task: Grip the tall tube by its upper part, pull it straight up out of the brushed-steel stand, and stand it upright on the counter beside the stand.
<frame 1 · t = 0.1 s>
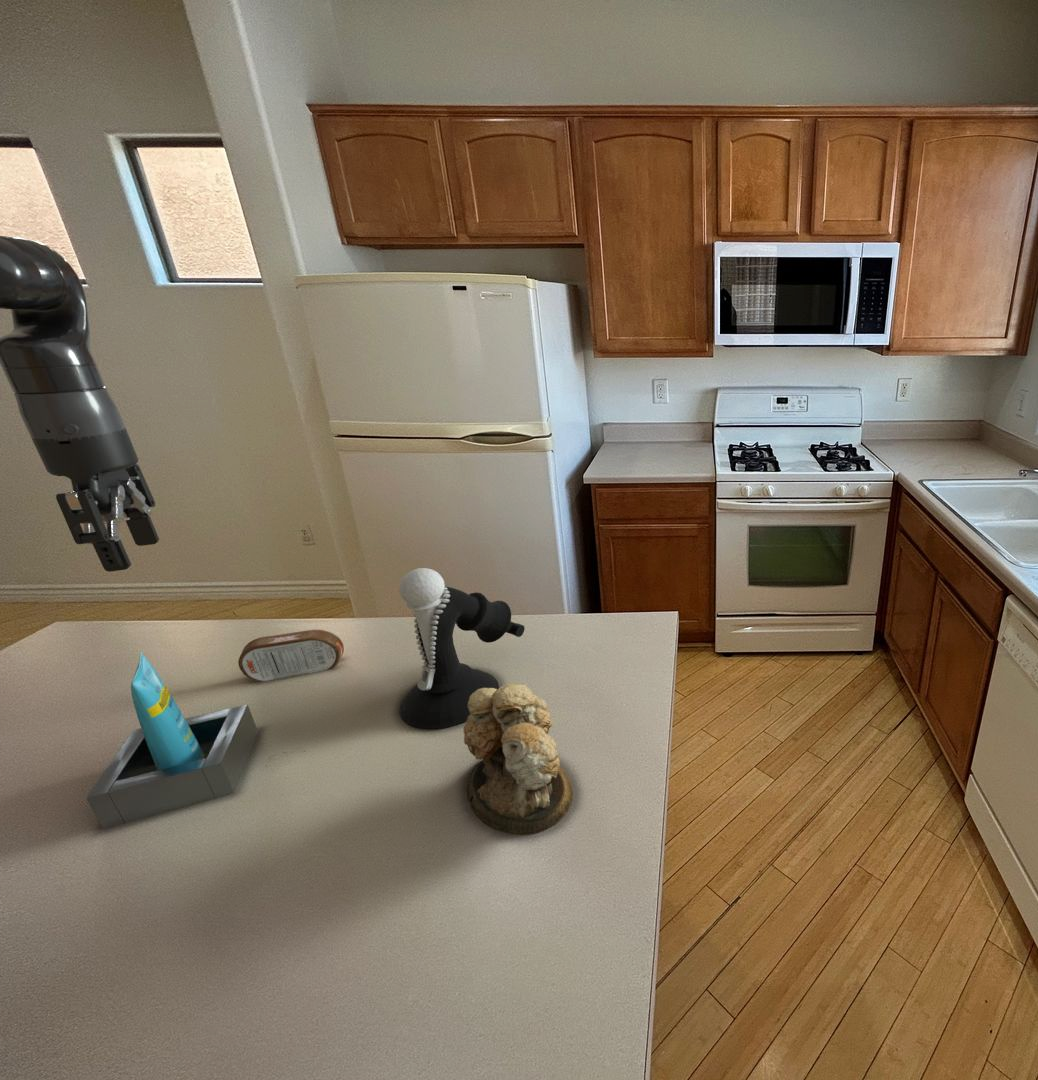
hand: (134, 556, 70), 32 cm above the counter, tool pointing down, fingers open, 8 cm apart
stand: (191, 779, 77), on the counter
tube: (191, 780, 77), resting in stand
sculpture: (473, 688, 97), on the counter
tin: (299, 676, 99), on the counter
owl figurine: (518, 793, 76), on the counter
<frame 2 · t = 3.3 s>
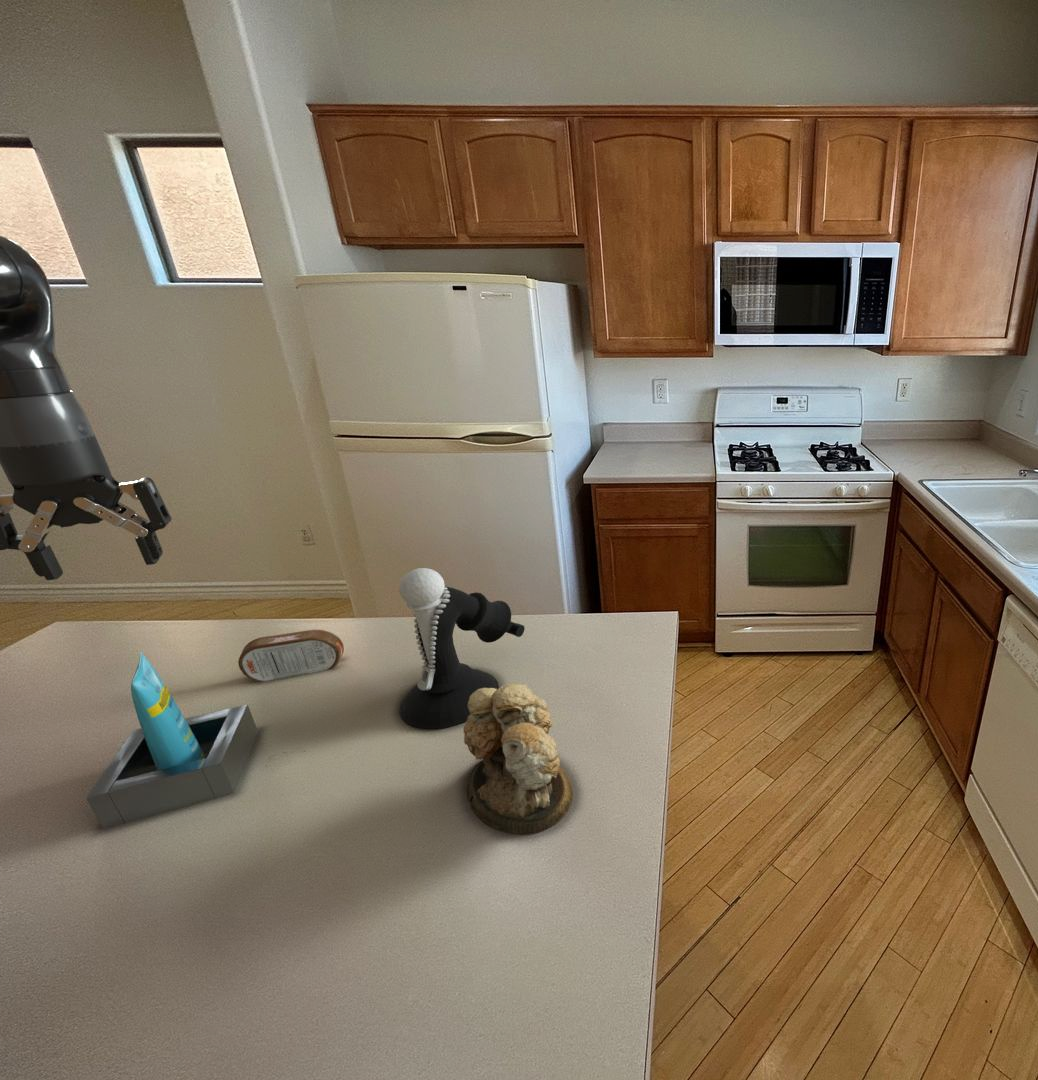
hand: (105, 569, 66), 32 cm above the counter, tool pointing down, fingers open, 8 cm apart
nothing on the counter moved.
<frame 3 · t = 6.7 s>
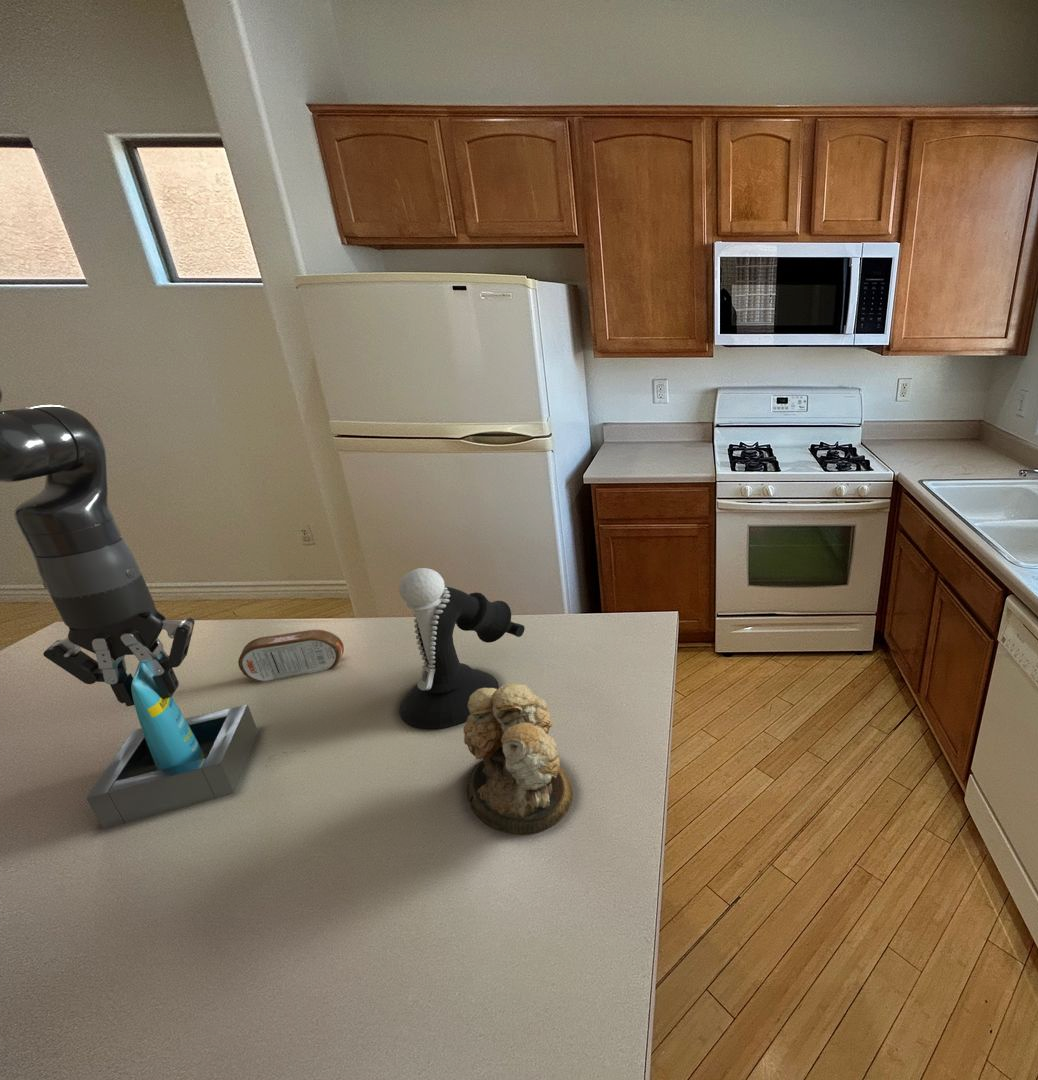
hand: (151, 697, 72), 14 cm above the counter, tool pointing down, fingers closed on tube, 3 cm apart
tube: (191, 780, 77), resting in stand, touching gripper
everything else where it was.
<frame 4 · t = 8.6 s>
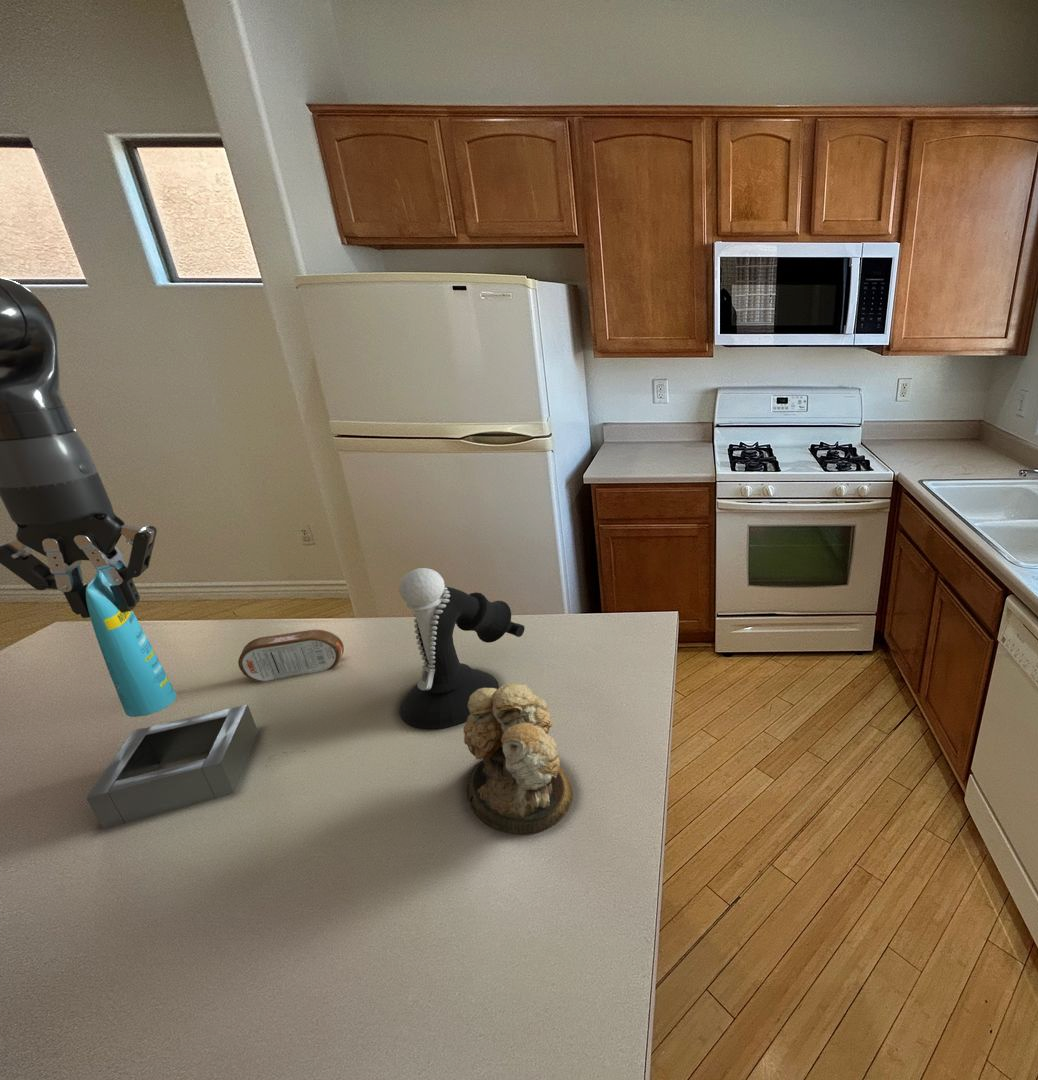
hand: (110, 611, 67), 27 cm above the counter, tool pointing down, fingers closed on tube, 3 cm apart
tube: (154, 706, 73), point 13 cm above the counter, touching gripper
everything else where it was.
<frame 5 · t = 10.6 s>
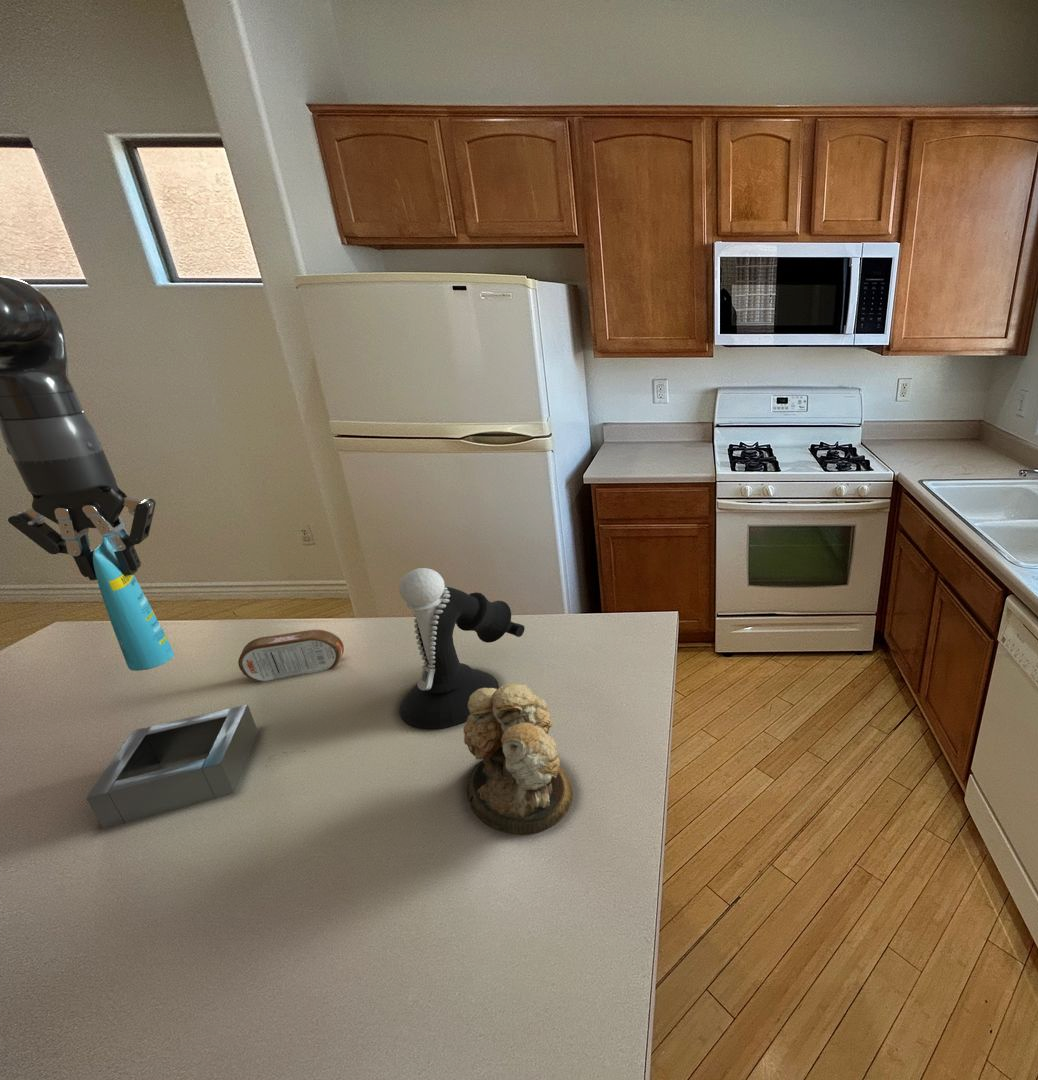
hand: (114, 575, 75), 27 cm above the counter, tool pointing down, fingers closed on tube, 3 cm apart
tube: (154, 662, 81), point 13 cm above the counter, touching gripper
everything else where it was.
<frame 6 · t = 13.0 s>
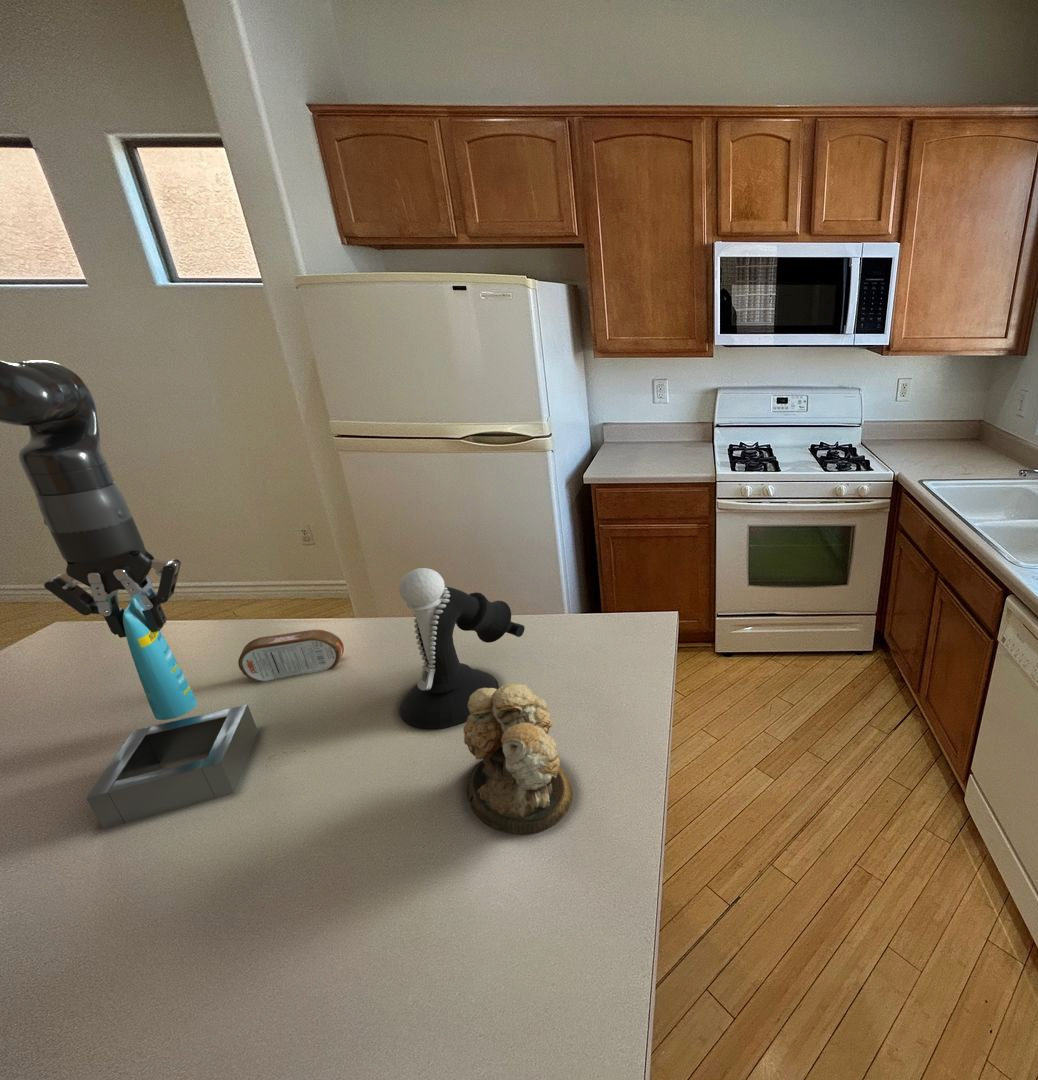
hand: (142, 631, 79), 18 cm above the counter, tool pointing down, fingers closed on tube, 3 cm apart
tube: (178, 710, 85), point 4 cm above the counter, touching gripper
everything else where it was.
when the fingers open (14 cm above the counter, at t = 14.5 s): tube stays where it is, on the counter.
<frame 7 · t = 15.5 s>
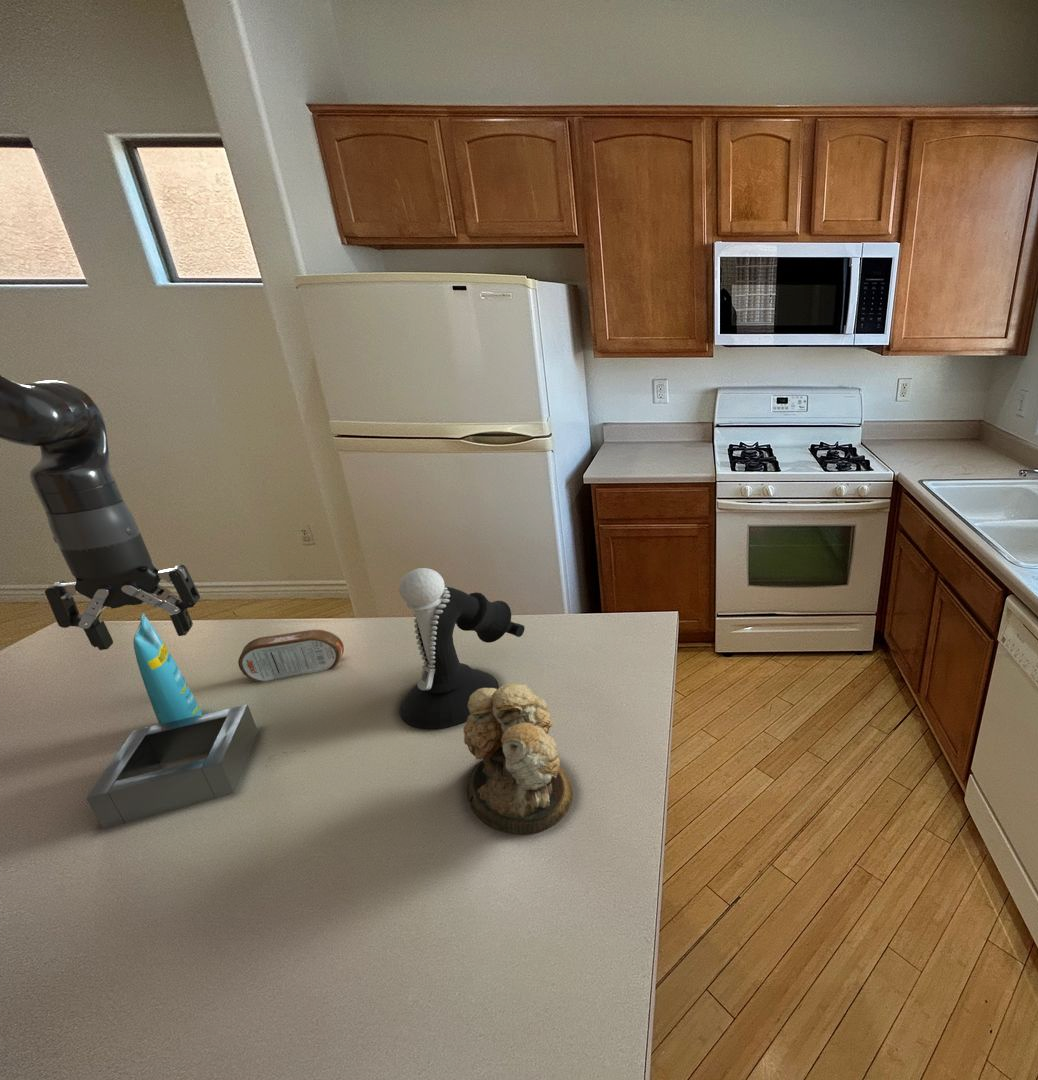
hand: (146, 640, 80), 16 cm above the counter, tool pointing down, fingers open, 8 cm apart
tube: (187, 730, 86), on the counter
everything else where it was.
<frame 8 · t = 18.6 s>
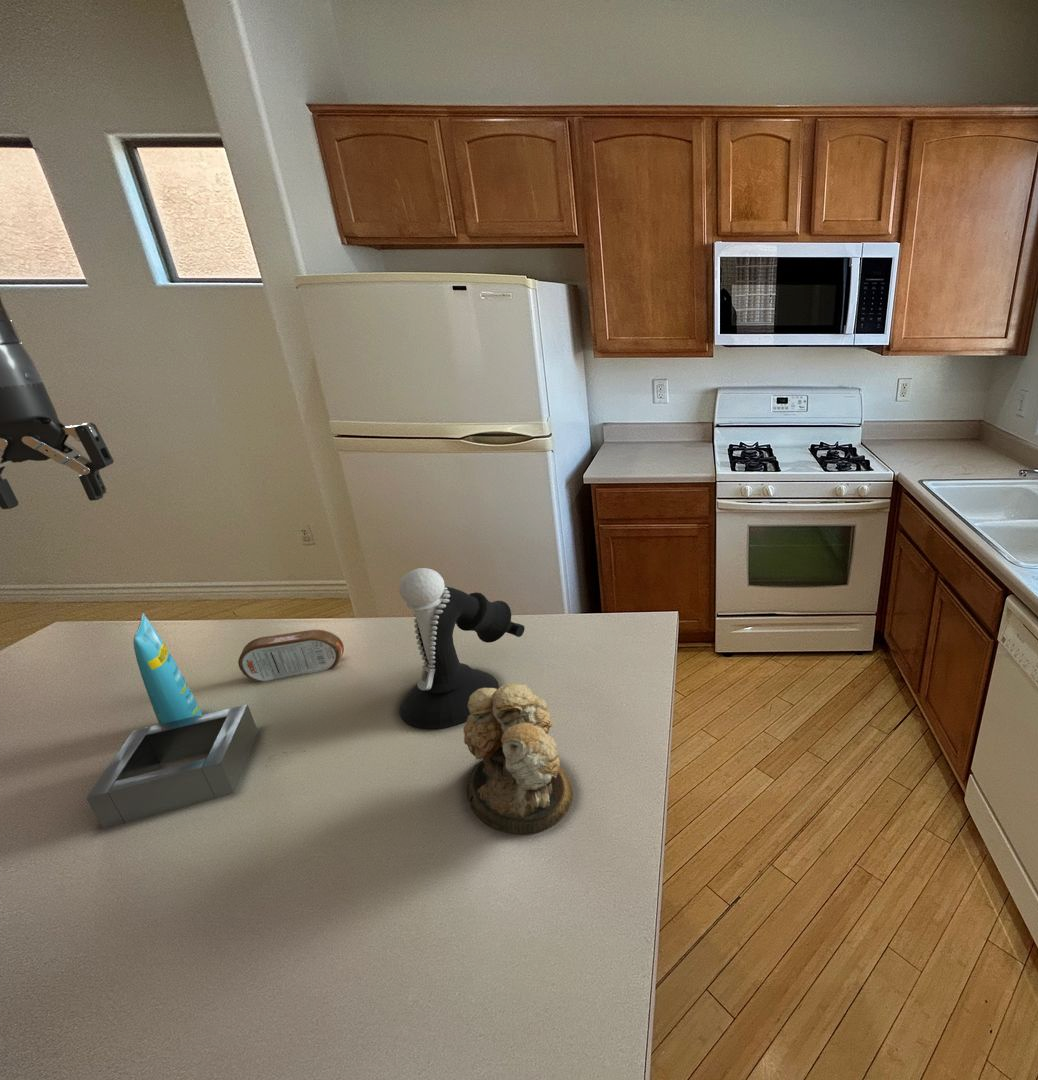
hand: (54, 503, 76), 36 cm above the counter, tool pointing down, fingers open, 8 cm apart
nothing on the counter moved.
at the end: tube inside the target area (0.1 cm from its centre), on the counter; tube tilted 0°; the gripper is holding nothing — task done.
